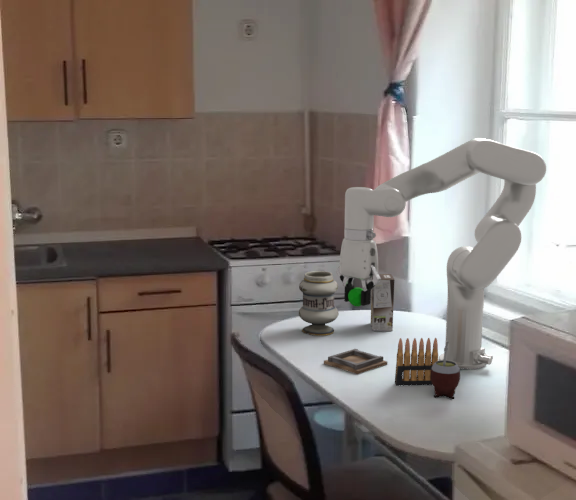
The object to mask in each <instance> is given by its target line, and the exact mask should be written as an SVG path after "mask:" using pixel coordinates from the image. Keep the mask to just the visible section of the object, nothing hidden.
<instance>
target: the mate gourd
mask: <svg viewBox="0 0 576 500" xmlns="http://www.w3.org/2000/svg"><path fill="white" fill-rule="evenodd" d="M445 342H446V341H445ZM448 343H449V342H446V345H445V346H444V348H443V352H444V353H443V354H444V360H441V361H439V360H438V361H437V362H435V363H434V364H433V366H432V369H431V374H430V378H431V382H432V385H431V386H433V390H434V395H433V398H435V399H439V398H443V397H445V398H447V399H450V400H455V396H454V394H456V389H457V387H458V386H459V383H460V381H461V369H459V367H458V365H457V364H456V363H455V362H452V361H446V355H447V350H448V348H447V347H448Z"/></svg>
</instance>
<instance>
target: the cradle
mask: <svg viewBox="0 0 576 500" xmlns="http://www.w3.org/2000/svg"><path fill="white" fill-rule="evenodd" d="M323 364H324V365H327V366H331V367H333V368H337V369H340V370H343V371H346V372H350V373H353V374H355V375H356V374H357V375H360V374H363V373H365V372H369V371H372V370H374V369H378V368H381V367H383V366H387V365H388V361H387V360H384V356H382V355H376V354H372V353H369V352H365V351H363V350H360V349H357V348H354V349H350V350H346V351H344V352H339V353H337V354H333V355H331V356H328V357H327V359H325V360H323Z"/></svg>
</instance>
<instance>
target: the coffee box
mask: <svg viewBox="0 0 576 500" xmlns="http://www.w3.org/2000/svg"><path fill="white" fill-rule="evenodd" d="M378 274H379V273H378ZM379 276H380V278H381V281H380V282H378V283H377V284H376V285H375V286H374V287H373V289H372V290H371V301H370V326H371V329H372V331H377V332H379V331H381V332H382V331H383V332H384V331H386V332H392V331H393V328H394V327H393V325H394V302H395V301H394V300H395V278H394V276H393V275H392V273H380V274H379ZM371 279H372V280H373V278H371Z"/></svg>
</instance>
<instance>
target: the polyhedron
mask: <svg viewBox="0 0 576 500" xmlns="http://www.w3.org/2000/svg"><path fill="white" fill-rule="evenodd" d="M362 290H363V288H361V287H354V289H352V290H351V291H349V294H348V299H349V301H348V303H349V304H351V305H352V306H354V307H361V306H362V305H361V291H362Z"/></svg>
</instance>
